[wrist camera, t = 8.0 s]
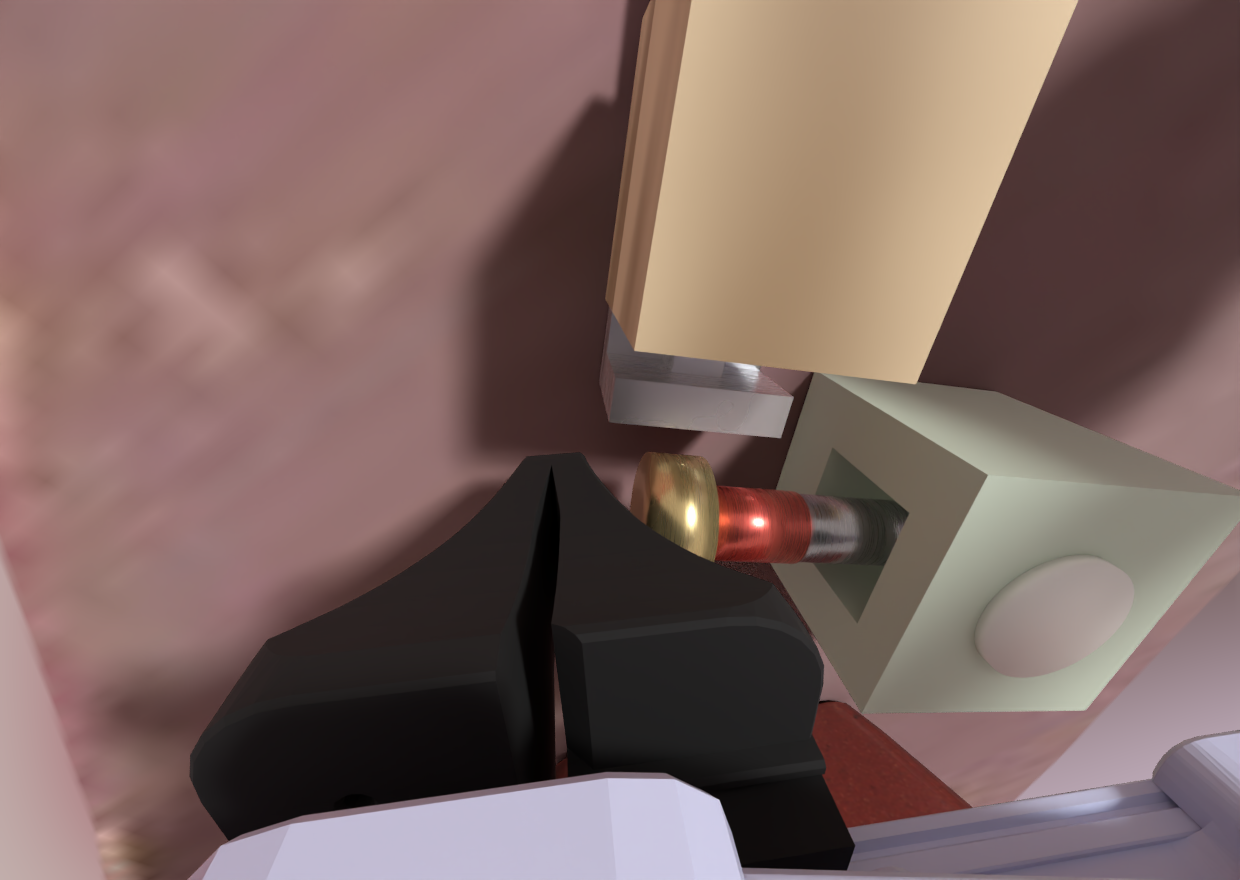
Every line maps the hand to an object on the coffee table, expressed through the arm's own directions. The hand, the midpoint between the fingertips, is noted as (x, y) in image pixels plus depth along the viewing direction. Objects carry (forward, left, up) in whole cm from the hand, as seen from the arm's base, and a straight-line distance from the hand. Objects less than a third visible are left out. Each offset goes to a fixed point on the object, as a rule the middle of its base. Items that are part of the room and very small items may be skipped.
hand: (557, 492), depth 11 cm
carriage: (-3, -7, -1) cm, 7 cm away
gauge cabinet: (-10, 0, -3) cm, 10 cm away
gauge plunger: (-5, 0, -1) cm, 5 cm away
